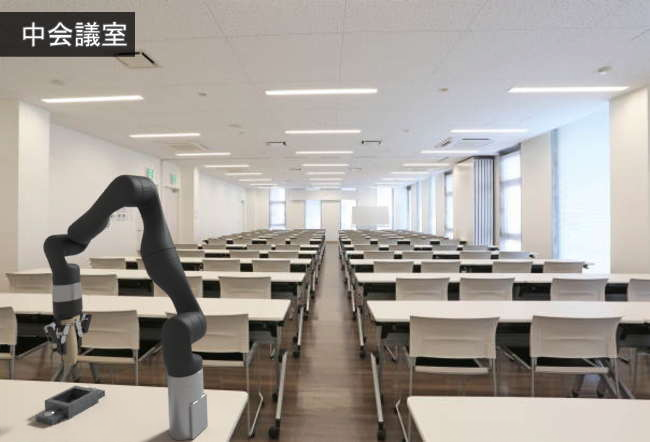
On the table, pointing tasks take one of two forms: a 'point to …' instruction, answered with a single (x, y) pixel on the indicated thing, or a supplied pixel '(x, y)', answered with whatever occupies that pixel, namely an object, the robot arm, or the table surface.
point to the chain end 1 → (57, 408)
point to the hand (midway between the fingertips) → (70, 351)
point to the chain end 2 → (85, 398)
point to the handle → (70, 342)
